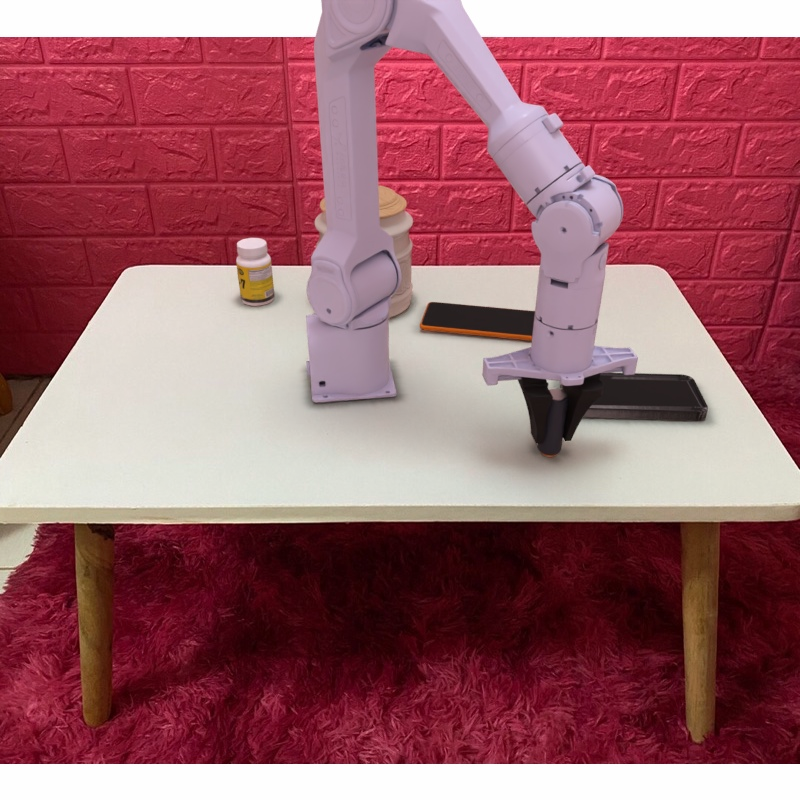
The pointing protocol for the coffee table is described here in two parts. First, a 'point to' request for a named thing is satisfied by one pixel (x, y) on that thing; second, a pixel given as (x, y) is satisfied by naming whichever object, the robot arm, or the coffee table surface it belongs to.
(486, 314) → the smartphone
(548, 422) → the lipstick
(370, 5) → the robot arm
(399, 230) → the jar
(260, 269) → the supplement bottle
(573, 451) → the coffee table surface
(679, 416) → the phone
